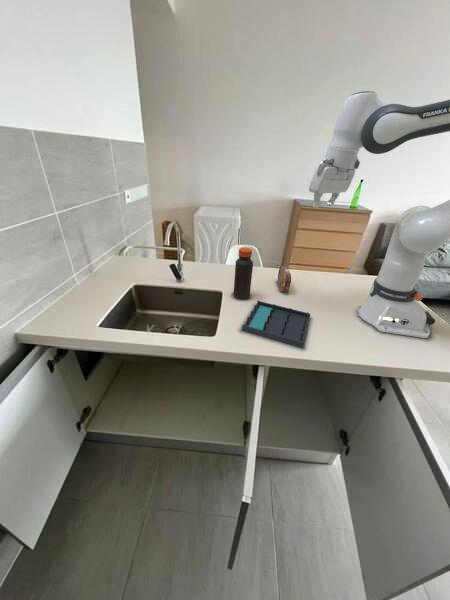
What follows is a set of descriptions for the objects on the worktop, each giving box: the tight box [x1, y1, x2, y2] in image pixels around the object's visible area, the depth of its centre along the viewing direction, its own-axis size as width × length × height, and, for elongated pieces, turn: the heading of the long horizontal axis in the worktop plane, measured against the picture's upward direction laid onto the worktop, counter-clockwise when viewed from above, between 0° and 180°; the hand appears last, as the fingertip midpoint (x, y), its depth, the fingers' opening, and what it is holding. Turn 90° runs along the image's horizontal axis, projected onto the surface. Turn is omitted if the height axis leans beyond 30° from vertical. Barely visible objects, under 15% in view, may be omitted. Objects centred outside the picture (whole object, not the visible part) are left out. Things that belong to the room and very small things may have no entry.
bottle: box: [233, 247, 254, 300], centre depth 96 cm, size 7×7×20 cm
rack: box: [241, 299, 311, 349], centre depth 84 cm, size 20×18×4 cm
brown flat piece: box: [277, 265, 292, 292], centre depth 107 cm, size 15×3×8 cm, turn 178°
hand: (322, 206), depth 82 cm, fingers open, 8 cm apart
